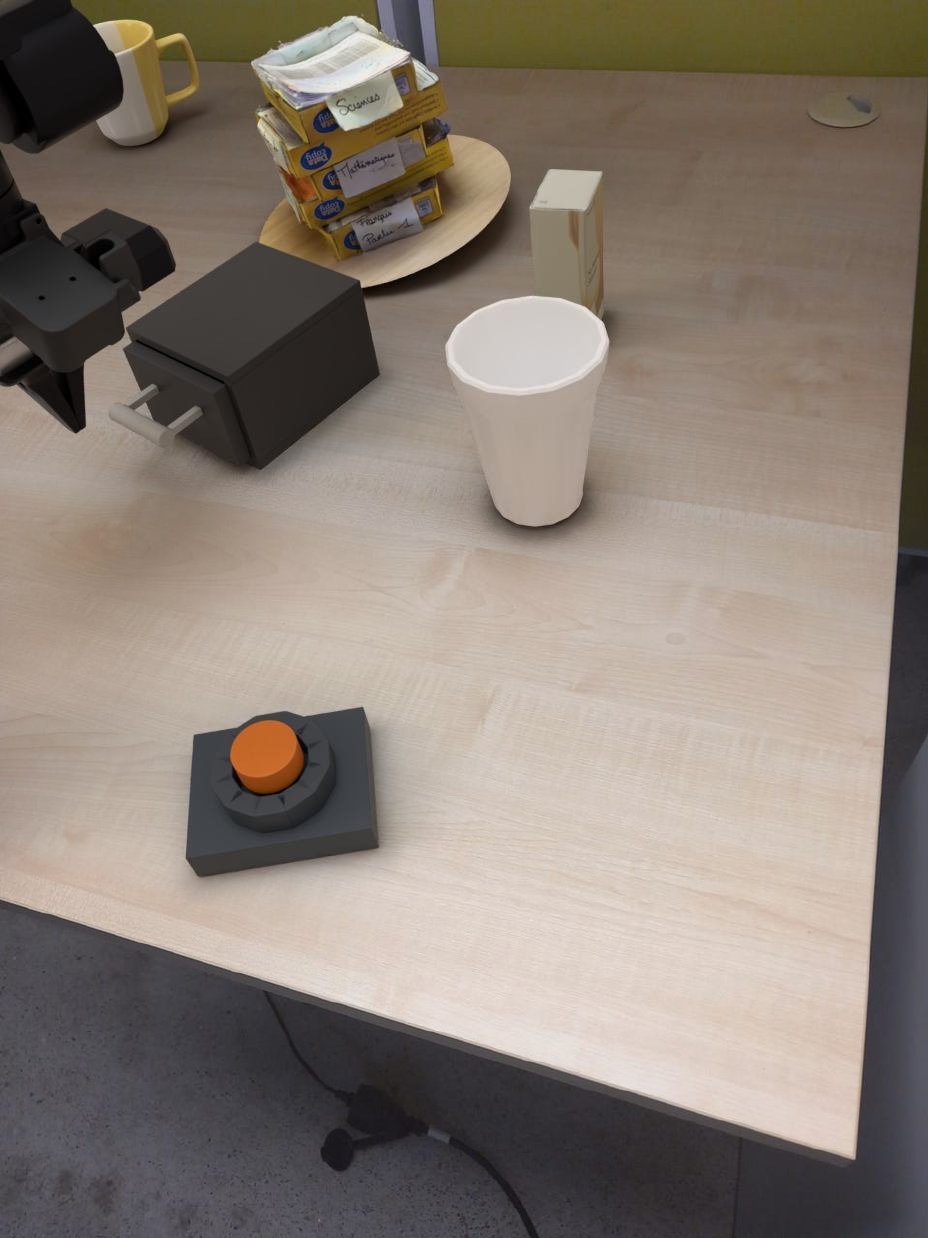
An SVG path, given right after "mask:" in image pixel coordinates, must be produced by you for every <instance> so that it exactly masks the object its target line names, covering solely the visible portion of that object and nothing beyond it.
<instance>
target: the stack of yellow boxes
mask: <svg viewBox="0 0 928 1238" xmlns="http://www.w3.org/2000/svg"><path fill="white" fill-rule="evenodd" d="M361 16H362V17H363V18H364V17H365V15H364V14H363V13H361ZM362 17H358V16H357V15H347V16H342V18H341V19H340V20H338V21H336V22H335V23H333V24H332V25H331V26H328V25H326V26H324V27H322V26H321V27H318V28H317V30H315V31H312V32H310V33H305V35H302V36H300V37H298V38H295V39H294V40H292V41H289V42H284V43H282V41H281V40H278V43H279V45H277V48H278V49H273V47H270V48H269V50H267V53H265V54H263V55H262V56H259V57H258V58H254V59H253V60H251V63H250V64H251V68H252V71H253V73H254V75H255V78H256V79H257V81H258V84H259V86H260V88H261V90H262V92H263V94H264V95H265V96H266V99H267V102H264V104H263V105H262V104H259V105H258V108H256V109H255V110H254V111H253V114H254V116H255V119H256V123H257V130H258V132H259V134H260V136H261V137H262V140H263V142H264V143H265V145H266V147H267V149H268V151H269V152H270V153H271V156H273V163H274V165H275V167H276V170H277V173H278V175H279V178H280V181H281V183H282V187H283V190H284V194H285V197H284V198H282V199H281V201H280V202H279V204H277V205H276V206H275V208H274V209H273V211H271V214H269V216H268V218H267V219H266V221H265V223H264V225H263V227H262V230H261V231H260V236H259V241H258V242H259V243H261V244H264V245H267V246H269V247H272V248H275V249H277V250H280V251H283V252H285V253H288V254H291V255H294V256H296V257H299V258H302V259H304V260H307V261H310V262H312V263H315V264H318V265H320V266H323V267H326V268H328V269H331V270H334V271H336V272H339V273H342V274H344V275H347V276H350V277H352V278H355V279H358V280H360V283H361V288H362V289H363V288H368V287H373V286H377V285H381V284H384V283H389V282H393V281H396V280H399V279H401V278H403V277H408V275H412V274H415V273H416V272H419V271H421V270H423V269H425V268H428V267H430V266H432V265H434V264H436V263H438V262H439V261H440V260H443V259H444V258H446V257H448V256H450V255H451V254H453V253H454V252H457V250H459V249H460V248H462V247H463V246H465V245H466V244H467V243H469V242H470V241H472V240H473V239H474V238H475V237H476V236H477V235H479V234H480V233H481V232H482V231H483V230H484V229H485V228H486V227H487V225H488V224H490V222H491V221H493V220H494V218H495V217H496V215H497V214H498V212H499V211H500V209H502V206H503V204H504V202H505V201H506V199H507V197H508V194H509V191H510V188H511V179H512V176H511V168H510V165H509V163H508V161H507V159H506V157H505V156H504V155H503V154H502V153H501V152H500V151H499V150H498V149H497V148H495V147H494V146H493V145H491V144H489V143H487V142H486V141H482V140H480V139H477V138H473V137H471V136H465V135H458V134H449V133H450V132H451V127H450V124H449V123H448V122H447V121H445V123H443V122H442V120H441V119H438V118H437V117H439V116H441V115H443V114H445V113H446V112H448V110H449V107H448V106H449V105H448V103H447V99H446V95H445V92H444V87H443V83H442V80H441V78H440V77H439V76H437V74H436V73H434V72H433V71H430V70H429V69H428V68H427V66H426V65H424V64H423V63H422V62H421V61H420V60H418V59H417V58H415V57H412V56H411V52H410V51H408V50H406V49H405V48H404V44H403V43H402V42H401V41H400V40H399V39H396V38H395V37H392V38H390V37H389V36H391V34H388V35H389V36H388V35H387V33H386V31H385V30H383V29H382V28H381V29H380V31H379V30H378V28H377V27H376V26H375V25H373V24H370V23H369V22H366V20H364V19H363V18H362ZM393 43H395V44H396V45H393Z"/></svg>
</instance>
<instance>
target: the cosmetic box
mask: <svg viewBox="0 0 928 1238" xmlns="http://www.w3.org/2000/svg"><path fill="white" fill-rule="evenodd" d="M603 176H604V175H603V171H601V170H579V169H578V170H577V169H559V168H558V169H557V168H550V169H548V170H547V172H546V174H545V175H544V178H543V179H542V182H541V183H540V185H539V187H538V189H537V191H536V193H535V196H534V197H533V200H532V201H531V204H530V206H529V208H528V210H529V225H530V226H529V227H530V241H531V242H530V243H531V256H532V257H531V258H532V271H533V274H532V275H533V288H534V296H541V297H553V298H562V299H565V300H567V301H570V302H573V303H576V304H579V305H581V306H584V307H586V308H587V309H588V310H590V311H591V312H592V313H593V314H594V315H595V316H596V317H598V318H599V319H600V320H601V321H603V320H602V319H603V317H604V314H605V312H604V311H605V297H604V294H605V293H604V291H605V289H604V285H605V284H604V188H603V187H604V186H603V183H604V181H603V180H604V179H603Z"/></svg>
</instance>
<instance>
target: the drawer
mask: <svg viewBox="0 0 928 1238" xmlns="http://www.w3.org/2000/svg"><path fill="white" fill-rule="evenodd" d="M122 351H123V353H124V355H125V358H126V360H127V363H128V365H129V367H130V370H131V372H132V375H133V377H134V379H135V381H136V383H137V386H138V388H139V390H140V392H138V393H137V394H135V395H134V396H132V397H131V398H129V400H127V401H126V402H124V403H121V402H114V403H112V404H111V405H110V406H109V408H108V410H107V415H108V417H109V419H110V420H112V421H113V422H115V423H116V424H119V425H120V426H122V427H124V428H126V429H128V430H129V431H131V432H133V433H134V434H136V435H138V436H140V437H142V438H144V439H146V440H148V441H149V442H151V443H153V444H155V445H156V446H159V447H161V448H162V449H168V448H170V447H171V446H173V444H174V443H175V440H176V435H177V434H178V435H180V436H182V437H184V438H187V439H188V440H189V441H191V442H194V443H195V444H197V445H199V446H201V447H203V448H205V449H207V450H209V451H210V452H212V453H214V454H215V455H218V456H219V457H222V458H223V459H225V460H227V461H229V462H231V463H233V464H235V465H237V466H238V467H242V466H243V465H244V464H247V463H248V462H247V461H248V460H250V459H251V455H250V452H249V449H248V446H247V444H246V441H245V438H244V435H243V432H242V429H241V427H240V424H239V421H238V418H237V415H236V412H235V410H234V407H233V404H232V401H231V398H230V396H229V393H228V390H227V387H226V385H225V383H224V382H223V381H221V380H219V379H217V378H215V377H213V376H211V375H209V374H207V373H205V372H203V371H200V370H198V369H196V368H194V367H192V366H190V365H188V364H186V363H184V362H182V361H180V360H178V359H175V358H173V357H171V356H169V355H167V354H165V353H163V352H161V353H162V354H161V353H159V352H157V351H155V350H152V349H150V348H148V347H146V346H144V345H142V344H140V343H138V342H136V341H133V342H130V343H129V344H127V345H126V346H124V347H122ZM144 404H146V406H147V408H148V410H149V414H150V415H151V418H150V417H148V416H146V415H145V414H142V413H140V412H139V411H137V409H138V408H140V407H141V406H143V405H144Z"/></svg>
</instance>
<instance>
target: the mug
mask: <svg viewBox="0 0 928 1238" xmlns="http://www.w3.org/2000/svg"><path fill="white" fill-rule="evenodd" d="M92 25H93V26H94V27H95V28H96V30H97V31H98V33H99V34H100V36H101V37H102V38H103V40H104V42H105V43H106V45H107V47H108V49H109V50H111V51H112V52H113V53H114V54H115V56H116V58H117V61H118V64H119V66H120V70H121V74H122V78H123V87H124V93H123V100H122V102H121V104H120V106H119V107H118V108H117V109H115V110H114V111H112V112H110V113H108V114H107V115H105V116H103V117H101V118H100V119H98V120H96V121H95V122H96V123H97V125H98V127H99V129H100V131H101V133H102V134H103V135H104V136H105V137H106V138H108V139H109V140H111V141H113V142H114V143H116V144H118V145H120V146H123V147H137V146H142V145H145V144H148V143H150V142H152V141H155V140H156V139H158V138H159V137H160V136H161V135H162V134H163V133H164V131H165V128H166V126H167V122H168V120H169V108H170V107H171V108H172V107H173V106H175V105H177V104H179V103H181V102H183V101H185V100H187V99H189V98H191V97H193V96H194V95H196V94H197V93H198V92H199V90H200V88H201V87H200V86H201V82H200V75H199V69H198V66H197V62H196V59H195V56H194V52H193V50H192V48H191V45H190V43H189V40H188V38H187V37H186V36H185V35H184V33H181V32H178V33H174V34H171V35H167V36H165V37H161V38H159V39H156V35H155V30H154V28H153V26H152V25H151V24H149V23H147V22H145V21H141V20H136V19H118V20H110V21H109V20H108V21H103V22H100V23H95V24H92ZM178 44H179V45H181V46H182V49H183V51H184V54H185V58H186V61H187V64H188V67H189V68H188V69H189V71H190V77H191V83H190V85H189V86H187V87H185V88H184V89H181V90H180V91H176V92H173V93H170V94H167V95H166V91H165V87H164V82H163V77H162V70H161V63H160V57H161V55H162V54H163V52H164V51H165V50H166V49H167V48H169V47H172V46H176V45H178Z"/></svg>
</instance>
